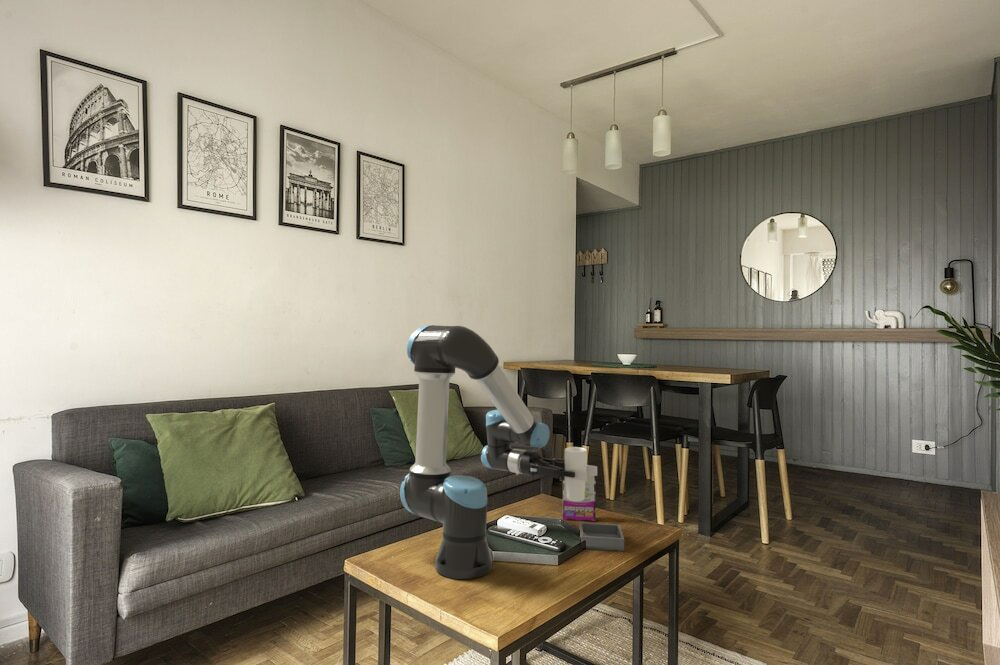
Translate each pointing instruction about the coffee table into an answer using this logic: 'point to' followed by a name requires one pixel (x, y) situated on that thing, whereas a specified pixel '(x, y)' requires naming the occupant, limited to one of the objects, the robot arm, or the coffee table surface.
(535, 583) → the coffee table surface
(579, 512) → the candy bar box
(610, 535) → the tray
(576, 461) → the white cup
